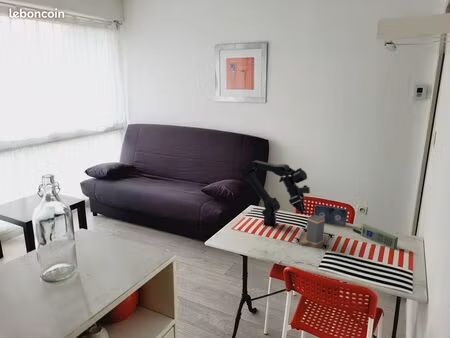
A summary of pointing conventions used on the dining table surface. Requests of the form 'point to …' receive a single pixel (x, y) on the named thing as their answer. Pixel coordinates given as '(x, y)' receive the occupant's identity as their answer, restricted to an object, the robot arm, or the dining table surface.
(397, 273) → the dining table surface
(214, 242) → the dining table surface
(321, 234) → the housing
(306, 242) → the board
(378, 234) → the handheld radio
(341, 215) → the vhs cassette tape
